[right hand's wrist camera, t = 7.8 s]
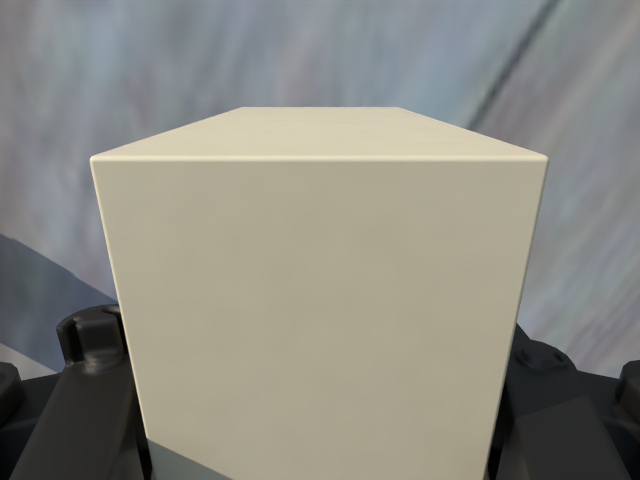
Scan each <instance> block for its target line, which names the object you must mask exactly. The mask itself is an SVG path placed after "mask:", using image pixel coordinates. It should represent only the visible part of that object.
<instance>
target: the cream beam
mask: <svg viewBox="0 0 640 480" xmlns="http://www.w3.org/2000/svg"><path fill="white" fill-rule="evenodd" d="M90 165H91V170H92V175H93V179H94V184H95V189H96V194H97V199H98V204H99V209H100V214H101V218H102V223H103V228H104V233H105V238H106V243H107V248H108V252H109V257H110V262H111V267H112V272H113V277H114V282H115V287H116V291H117V296H118V301H119V306H120V311H121V316H122V321H123V325H124V330H125V335H126V340H127V345H128V350H129V355H130V359H131V364H132V369H133V374H134V379H135V384H136V389H137V394H138V398H139V403H140V408H141V413H142V418H143V423H144V428H145V432H146V437H147V442H148V447H149V452H150V457H151V462H152V467H153V471H154V476H155V480H484V479H485V474H486V469H487V464H488V459H489V454H490V449H491V444H492V439H493V435H494V430H495V425H496V420H497V415H498V410H499V405H500V400H501V396H502V391H503V386H504V381H505V376H506V371H507V366H508V361H509V356H510V352H511V347H512V342H513V337H514V332H515V327H516V322H517V317H518V312H519V308H520V303H521V298H522V293H523V288H524V283H525V278H526V273H527V269H528V264H529V259H530V254H531V249H532V244H533V239H534V234H535V229H536V225H537V220H538V215H539V210H540V205H541V200H542V195H543V190H544V185H545V181H546V176H547V171H548V166H549V158H548V157H547V156H545V155H542V154H539V153H536V152H533V151H530V150H527V149H524V148H521V147H518V146H515V145H512V144H509V143H506V142H503V141H500V140H497V139H493V138H490V137H487V136H484V135H481V134H478V133H475V132H472V131H469V130H466V129H463V128H460V127H457V126H454V125H451V124H448V123H445V122H442V121H438V120H435V119H432V118H429V117H426V116H423V115H420V114H417V113H414V112H411V111H408V110H405V109H402V108H399V107H241V108H238V109H235V110H232V111H229V112H226V113H223V114H220V115H216V116H213V117H210V118H207V119H204V120H201V121H198V122H195V123H192V124H189V125H186V126H183V127H180V128H177V129H174V130H171V131H167V132H164V133H161V134H158V135H155V136H152V137H149V138H146V139H143V140H140V141H137V142H134V143H131V144H128V145H125V146H121V147H118V148H115V149H112V150H109V151H106V152H103V153H100V154H97V155H94V156H92V157H91V158H90Z"/></svg>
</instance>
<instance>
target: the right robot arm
mask: <svg viewBox="0 0 640 480" xmlns="http://www.w3.org/2000/svg"><path fill="white" fill-rule="evenodd" d="M56 330H57V334H58V337H59V341H60V345H61V348H62V352H63V356H64V359H65V363H66V366H65V368H64V370H63V372H61V373H57V374H53V375H48V376H43V377H38V378H33V379H28V380H23V381H21V378H20V375H19V372H18V369H17V368H16V367H15V366H14V365H12V364H11V363H5V362H0V480H155V476H154V471H153V467H152V462H151V457H150V452H149V447H148V442H147V437H146V432H145V428H144V423H143V418H142V413H141V408H140V403H139V398H138V394H137V389H136V384H135V379H134V374H133V369H132V364H131V359H130V355H129V350H128V345H127V340H126V335H125V330H124V325H123V321H122V316H121V311H120V306H119V305H117V304H115V305H100V306H95V307H90V308H87V309H84V310H82V311H79V312H76V313H74V314H72V315H71V316H69V317H67V318H65V319H64V320H63V321H62V322H61V323H60V324H59V325H58V326H57V327H56ZM484 480H640V360H636V361H629V362H628V363H627V364H625V365H624V366H623V368H622V371H621V374H620V377H619V379H616V378H611V377H606V376H601V375H596V374H591V373H586V372H582V371H578V370H577V369H576V367H575V365H574V363H573V362H572V361H571V360H570V359H569V357H568V356H567V355H565V354H564V353H563V352H561V351H560V350H558V349H557V348H555V347H552V346H550V345H548V344H545V343H543V342H539V341H535V340H531V339H530V338H529V337H528V336H527V335H526V334H525V332H524V331H523V330H522V329H521V327H520V326H519V325H518V324H517V322H516V327H515V332H514V337H513V342H512V347H511V352H510V356H509V361H508V366H507V371H506V376H505V381H504V386H503V391H502V396H501V400H500V405H499V410H498V415H497V420H496V425H495V430H494V435H493V439H492V444H491V449H490V454H489V459H488V464H487V469H486V474H485V479H484Z"/></svg>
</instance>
